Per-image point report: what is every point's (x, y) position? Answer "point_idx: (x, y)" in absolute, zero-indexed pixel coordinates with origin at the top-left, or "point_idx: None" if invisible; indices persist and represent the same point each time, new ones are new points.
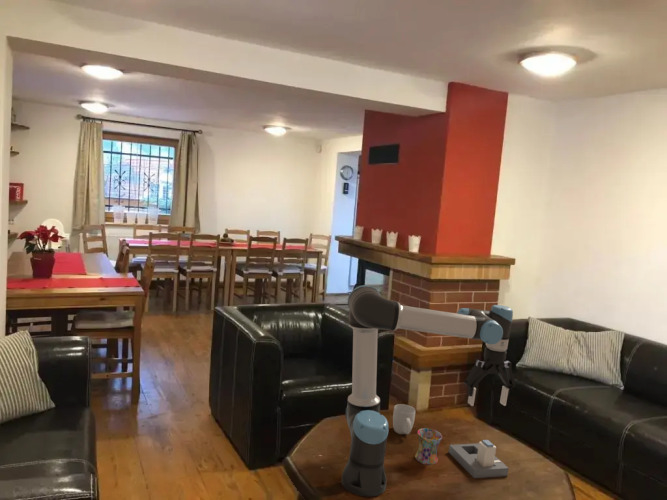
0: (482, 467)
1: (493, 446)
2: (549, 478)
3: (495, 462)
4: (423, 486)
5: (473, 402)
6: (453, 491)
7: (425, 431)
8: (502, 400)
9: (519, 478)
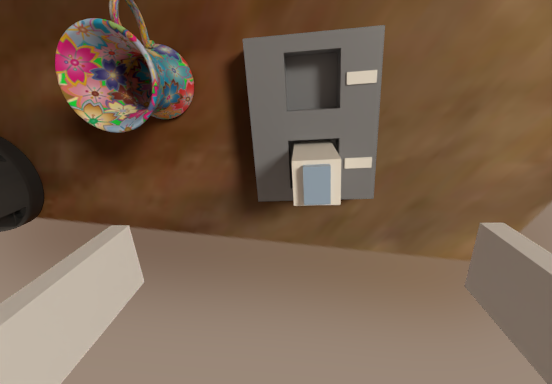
0: (288, 190)
1: (331, 198)
2: (501, 197)
3: (349, 168)
4: (128, 200)
5: (120, 305)
6: (193, 223)
7: (103, 30)
8: (500, 283)
9: (404, 190)
